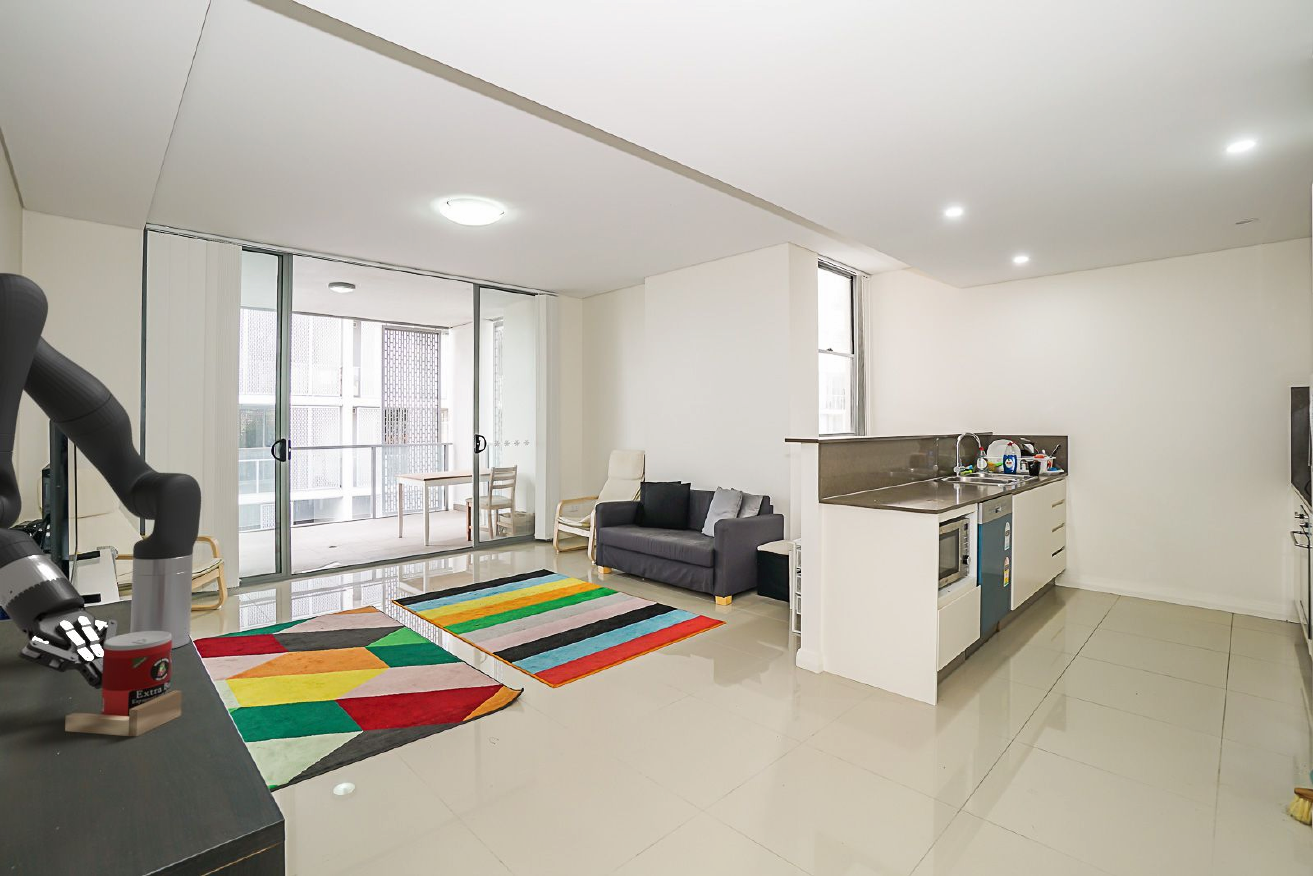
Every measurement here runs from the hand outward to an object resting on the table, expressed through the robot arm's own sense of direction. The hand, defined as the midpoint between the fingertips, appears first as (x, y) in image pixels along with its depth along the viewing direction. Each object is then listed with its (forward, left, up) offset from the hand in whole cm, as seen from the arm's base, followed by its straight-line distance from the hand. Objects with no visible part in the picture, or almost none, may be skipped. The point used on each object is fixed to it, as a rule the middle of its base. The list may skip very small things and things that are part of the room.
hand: (106, 683), depth 93 cm
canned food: (+4, +2, -4) cm, 6 cm away
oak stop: (+6, 0, -4) cm, 7 cm away
